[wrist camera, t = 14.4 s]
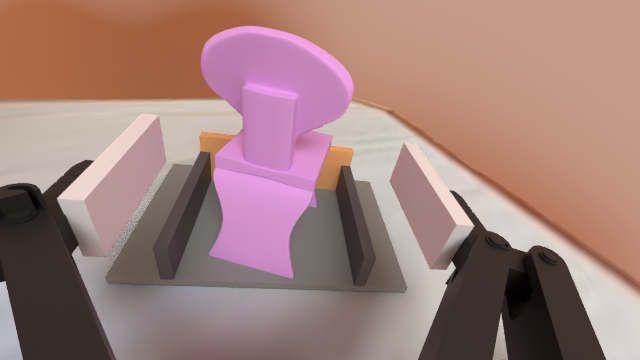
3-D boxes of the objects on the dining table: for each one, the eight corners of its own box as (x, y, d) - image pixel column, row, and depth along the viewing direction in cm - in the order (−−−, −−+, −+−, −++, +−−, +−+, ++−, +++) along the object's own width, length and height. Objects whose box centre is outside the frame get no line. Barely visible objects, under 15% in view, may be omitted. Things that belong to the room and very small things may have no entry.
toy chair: (329, 205, 27) (371, 29, 19) (307, 283, 20) (359, 56, 12) (244, 183, 28) (248, 3, 19) (194, 251, 21) (165, 13, 12)
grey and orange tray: (107, 283, 19) (83, 225, 16) (174, 168, 29) (167, 121, 26) (404, 292, 22) (430, 245, 19) (367, 186, 32) (381, 145, 29)
